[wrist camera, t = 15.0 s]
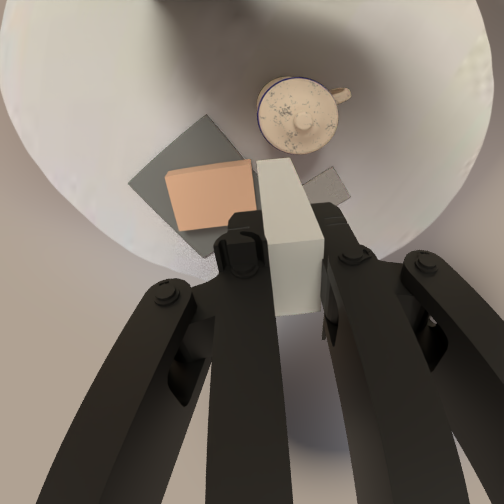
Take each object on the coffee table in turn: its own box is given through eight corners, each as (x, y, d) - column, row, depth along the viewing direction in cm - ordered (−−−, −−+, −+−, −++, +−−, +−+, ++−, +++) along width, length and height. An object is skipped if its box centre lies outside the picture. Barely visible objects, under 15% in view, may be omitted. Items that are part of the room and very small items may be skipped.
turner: (248, 257, 51) (249, 264, 50) (226, 234, 48) (226, 240, 47) (350, 195, 45) (353, 201, 43) (332, 166, 42) (335, 170, 40)
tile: (179, 231, 44) (258, 222, 44) (164, 177, 39) (250, 164, 38) (182, 222, 46) (257, 213, 46) (168, 170, 41) (250, 158, 40)
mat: (129, 182, 42) (127, 183, 42) (206, 114, 37) (205, 115, 36) (203, 256, 51) (203, 258, 50) (281, 205, 46) (281, 207, 45)
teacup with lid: (271, 146, 40) (280, 176, 31) (243, 90, 35) (242, 99, 26) (348, 116, 37) (381, 137, 28) (324, 58, 32) (354, 58, 23)
